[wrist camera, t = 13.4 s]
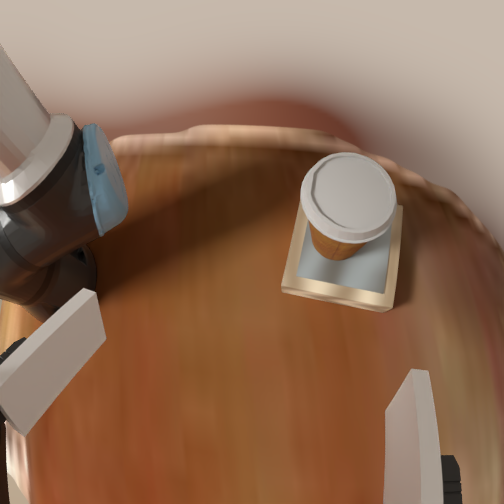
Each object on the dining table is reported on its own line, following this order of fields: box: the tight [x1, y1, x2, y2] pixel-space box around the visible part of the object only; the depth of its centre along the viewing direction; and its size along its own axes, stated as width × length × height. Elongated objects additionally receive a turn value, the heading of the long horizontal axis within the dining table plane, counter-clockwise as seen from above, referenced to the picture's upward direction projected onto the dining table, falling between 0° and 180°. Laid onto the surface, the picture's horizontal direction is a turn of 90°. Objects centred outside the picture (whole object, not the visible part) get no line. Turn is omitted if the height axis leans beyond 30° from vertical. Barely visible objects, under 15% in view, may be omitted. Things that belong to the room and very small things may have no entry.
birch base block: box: [281, 199, 403, 313], centre depth 41 cm, size 14×14×4 cm
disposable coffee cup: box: [301, 152, 397, 261], centre depth 34 cm, size 10×10×12 cm
